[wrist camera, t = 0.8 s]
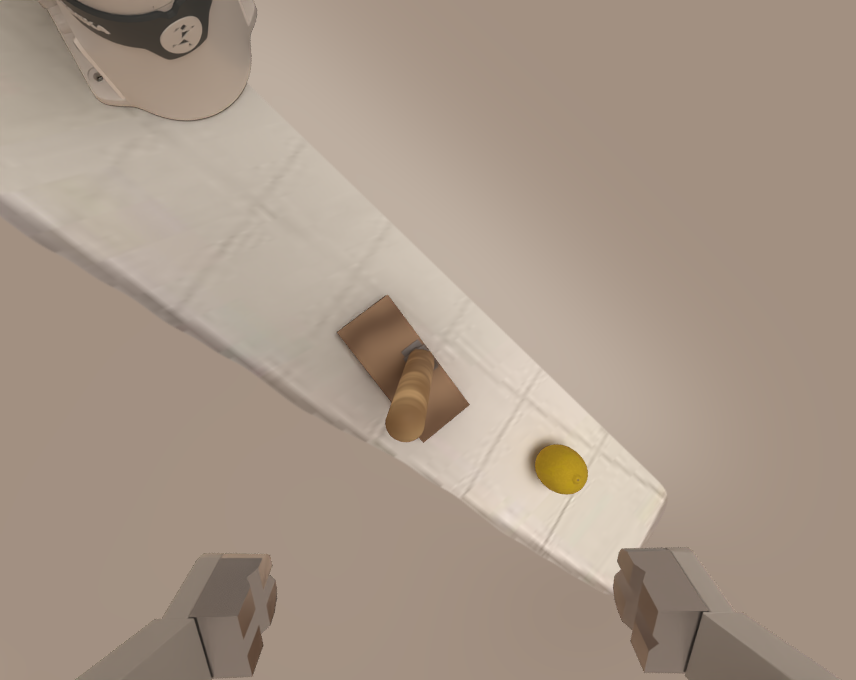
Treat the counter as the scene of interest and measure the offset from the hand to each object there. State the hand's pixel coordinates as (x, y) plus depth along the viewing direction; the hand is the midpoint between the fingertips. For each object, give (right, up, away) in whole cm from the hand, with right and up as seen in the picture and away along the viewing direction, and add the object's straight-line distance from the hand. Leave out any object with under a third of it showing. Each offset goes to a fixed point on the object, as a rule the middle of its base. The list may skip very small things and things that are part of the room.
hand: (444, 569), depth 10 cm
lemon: (+15, -10, +47) cm, 51 cm away
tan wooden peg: (-1, +3, +39) cm, 40 cm away
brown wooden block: (-3, +2, +43) cm, 43 cm away
